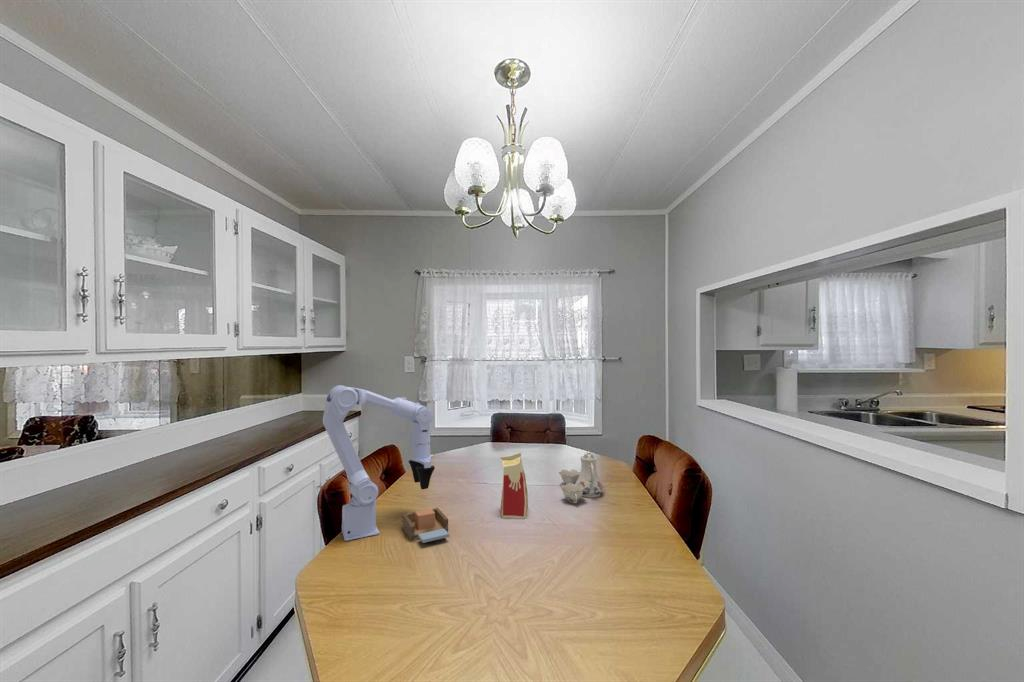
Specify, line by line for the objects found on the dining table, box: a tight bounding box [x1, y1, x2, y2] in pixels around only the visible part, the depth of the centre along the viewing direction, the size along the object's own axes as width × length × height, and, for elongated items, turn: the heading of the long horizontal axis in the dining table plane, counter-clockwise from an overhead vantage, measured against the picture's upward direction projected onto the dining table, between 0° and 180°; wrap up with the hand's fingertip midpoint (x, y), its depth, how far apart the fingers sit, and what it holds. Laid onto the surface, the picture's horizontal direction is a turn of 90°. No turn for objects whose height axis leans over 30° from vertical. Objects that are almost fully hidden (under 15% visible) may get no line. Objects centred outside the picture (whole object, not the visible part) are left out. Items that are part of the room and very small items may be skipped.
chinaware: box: [558, 450, 604, 504], centre depth 153 cm, size 28×17×17 cm, turn 0°
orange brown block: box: [414, 508, 435, 530], centre depth 121 cm, size 5×4×4 cm
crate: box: [402, 507, 449, 542], centre depth 121 cm, size 11×11×4 cm
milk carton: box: [499, 452, 529, 520], centre depth 134 cm, size 9×9×20 cm
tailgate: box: [418, 529, 450, 544], centre depth 114 cm, size 8×1×5 cm
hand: (421, 485), depth 131 cm, fingers open, 7 cm apart
